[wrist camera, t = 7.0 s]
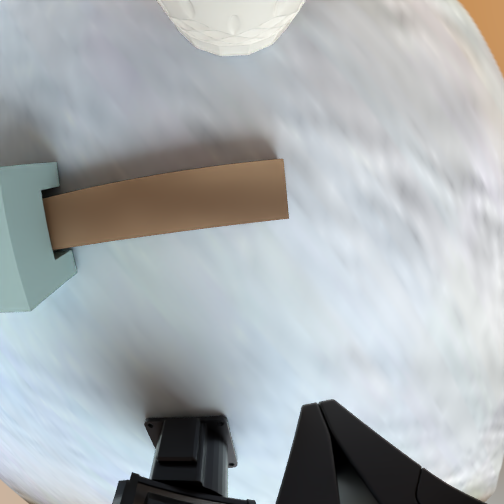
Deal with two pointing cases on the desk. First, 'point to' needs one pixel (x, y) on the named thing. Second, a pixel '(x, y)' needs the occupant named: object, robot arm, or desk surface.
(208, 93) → the desk surface
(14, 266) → the block
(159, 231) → the rail
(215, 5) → the white cup
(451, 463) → the desk surface
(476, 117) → the desk surface
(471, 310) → the desk surface
